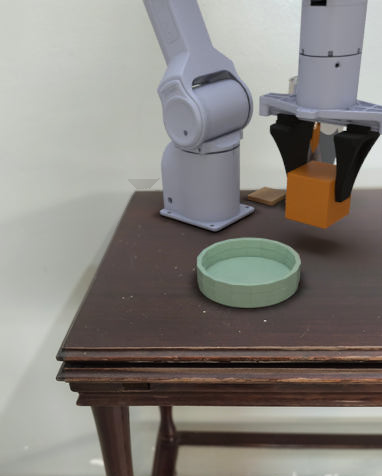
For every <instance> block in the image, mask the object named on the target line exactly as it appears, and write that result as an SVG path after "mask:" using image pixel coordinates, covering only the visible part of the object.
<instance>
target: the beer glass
mask: <svg viewBox="0 0 382 476" xmlns="http://www.w3.org/2000/svg"><path fill="white" fill-rule="evenodd" d="M297 81H298V75H295V76H292V77H290V78H289V79H288V86H287V93H286V94H297ZM344 128H345V127H344V126H338V125H331V124H325V123H318V122H315V124H314V128H313V131H312V136H311V140H310V145H309V151H308V159H307V163H309V162H311V161H313V160H314V161H319V162H324V163H329V164H334V165H336V153H335V145H334V140H333V139H334V135H336V134H338V133H340V132H342V131H344ZM284 206H286V198H285V199H284Z"/></svg>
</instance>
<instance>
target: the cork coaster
mask: <svg viewBox="0 0 382 476" xmlns="http://www.w3.org/2000/svg"><path fill="white" fill-rule="evenodd" d="M285 198H286V191H285V190H281V189H276V188H272V187H268V186H263V187H261V188H259V189H256V190H255V191H253V192H251V193H249V194H247V195H246V199H247V200H248V201H252V202H256V203H260V204H263V205H266V206H271V207H273V206H274V205H276V204H278V203H280V202H281V201H283V200H285Z"/></svg>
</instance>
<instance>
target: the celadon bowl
mask: <svg viewBox="0 0 382 476" xmlns="http://www.w3.org/2000/svg"><path fill="white" fill-rule="evenodd" d="M300 257H301V256H300V254H299V253H298V252H297V251H296V250H295V249H294V248H292V247H291V246H290V245H287V244H285V243H283V242H280V241H277V240H273V239H268V238H264V237H263V238H262V237H238V238H230V239H225V240H221V241H217V242H215V243H212V244H211V245H209V246H207V247H205V248H204V249H203V250H202V251H200V253H199V255H197V256H196V278H197V279H196V280H197V287H198V289H199V291H200V293H201V294H202V295H204V296H205V298H208V300H211V301H213V302H215V303H217V304H219V305H220V304H221V305H224V306H228V307H232V308H242V309H243V308H244V309H254V308H263V307H269V306H273V305H277V304H280V303H282V302H284V301H287V300H288V299H289V298H291V297H292V296H293V295H295V293H296V292H297V290H298V289H299V284H300V281H301V268H302V261H301V258H300Z"/></svg>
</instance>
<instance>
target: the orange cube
mask: <svg viewBox="0 0 382 476" xmlns="http://www.w3.org/2000/svg"><path fill="white" fill-rule="evenodd" d="M335 180H336V164H329V163H324V162H319V161H314V160H313V161H311V162H309V163H307V164H305V165H303V166H301V167H299V168H297V169H295V170H293V171H291V172H289V173H287V176H286V191H285V192H286V205H285V211H284V212H285V213H284V218H285V219H287V220H290V221H293V222H297V223H301V224H305V225H309V226H313V227H316V228H320V229H322V230H323V229H324V230H326V229H328V228H330V227H331V226H332V225H334V224H336V223H337V222H339V221H340V220H341V219H343V218H345V217H346V216H348V215H349V214H350V210H351V209H350V208H351V199H352V194H351V195H350V198H348V199H346V200H345V201H343V202H341V203H339V202H335Z"/></svg>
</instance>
